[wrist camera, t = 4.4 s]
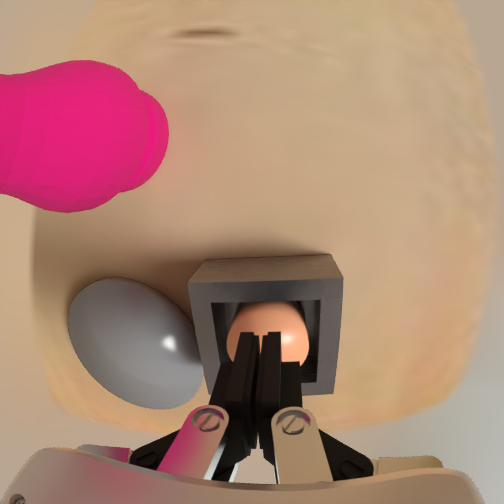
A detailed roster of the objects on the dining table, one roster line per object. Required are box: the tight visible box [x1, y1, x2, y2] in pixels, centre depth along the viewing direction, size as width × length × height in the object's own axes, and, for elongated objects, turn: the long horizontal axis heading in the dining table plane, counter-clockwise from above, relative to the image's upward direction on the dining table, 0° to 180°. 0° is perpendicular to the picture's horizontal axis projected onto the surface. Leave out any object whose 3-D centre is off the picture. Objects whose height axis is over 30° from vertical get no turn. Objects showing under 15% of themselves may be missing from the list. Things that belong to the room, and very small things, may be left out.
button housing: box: [187, 254, 343, 396], centre depth 15 cm, size 7×7×4 cm
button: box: [227, 301, 309, 366], centre depth 14 cm, size 4×4×2 cm
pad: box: [68, 277, 204, 409], centre depth 18 cm, size 11×11×1 cm
